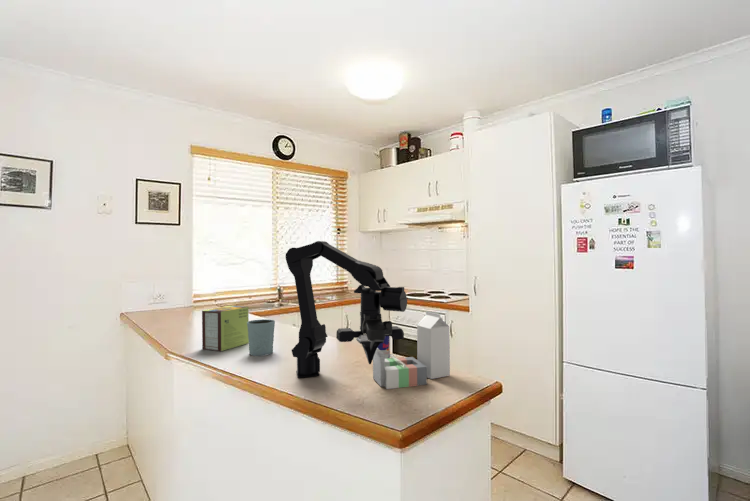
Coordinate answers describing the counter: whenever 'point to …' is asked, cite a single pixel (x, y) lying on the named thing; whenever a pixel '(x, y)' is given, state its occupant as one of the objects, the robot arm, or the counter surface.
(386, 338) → the energy drink
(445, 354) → the milk carton
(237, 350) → the counter surface
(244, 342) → the protein box
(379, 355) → the t-handle square plate
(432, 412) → the counter surface
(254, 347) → the grey teal cup
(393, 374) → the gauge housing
